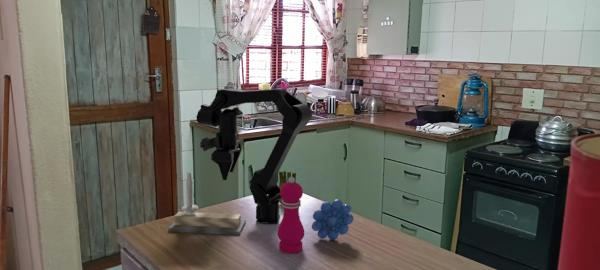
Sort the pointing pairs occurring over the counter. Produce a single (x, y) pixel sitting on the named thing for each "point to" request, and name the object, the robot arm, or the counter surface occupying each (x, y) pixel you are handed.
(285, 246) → the pepper mill
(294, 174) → the fennel bulb
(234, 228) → the stand
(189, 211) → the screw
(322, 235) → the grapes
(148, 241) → the counter surface
